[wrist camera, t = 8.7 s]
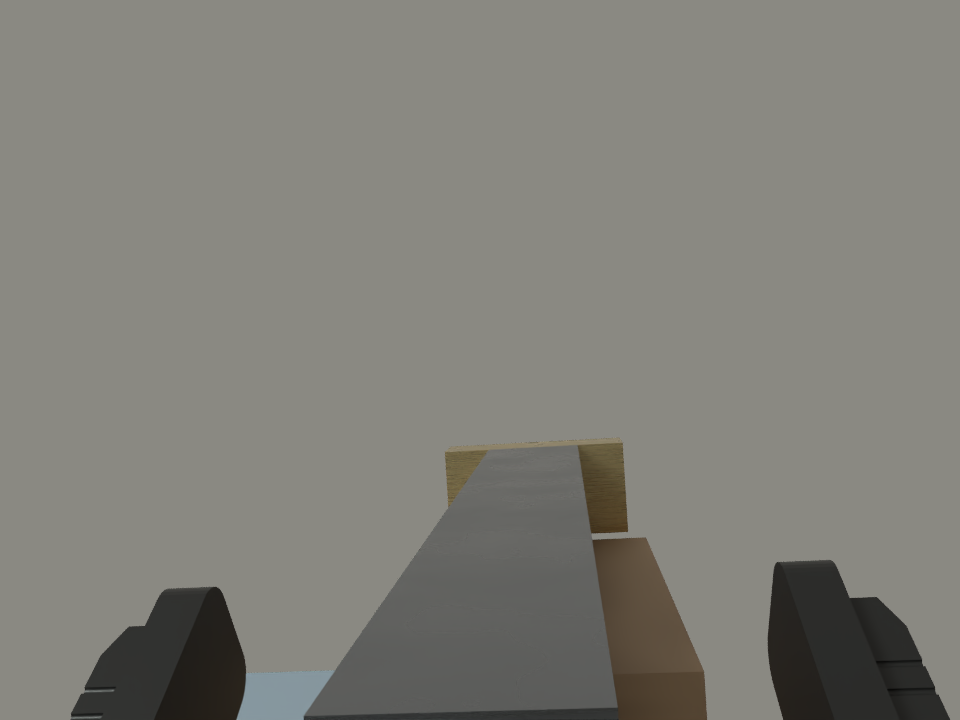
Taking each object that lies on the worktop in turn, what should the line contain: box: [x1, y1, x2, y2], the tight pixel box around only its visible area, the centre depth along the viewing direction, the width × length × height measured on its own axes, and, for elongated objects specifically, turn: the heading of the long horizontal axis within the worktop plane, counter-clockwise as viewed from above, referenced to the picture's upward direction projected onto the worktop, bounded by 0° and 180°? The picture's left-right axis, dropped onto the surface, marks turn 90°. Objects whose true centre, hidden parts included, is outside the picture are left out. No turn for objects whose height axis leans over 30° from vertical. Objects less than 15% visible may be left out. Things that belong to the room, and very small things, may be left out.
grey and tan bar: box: [304, 438, 628, 720], centre depth 20 cm, size 6×24×3 cm, turn 175°
